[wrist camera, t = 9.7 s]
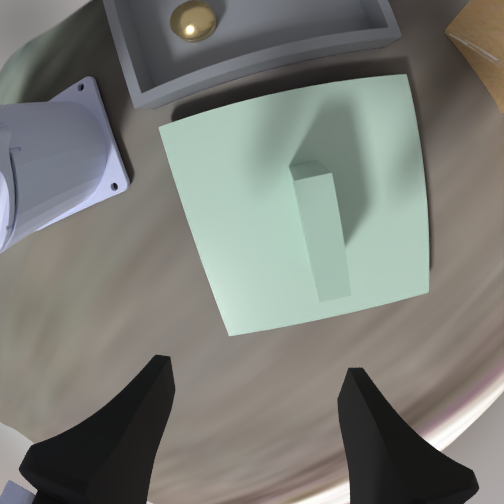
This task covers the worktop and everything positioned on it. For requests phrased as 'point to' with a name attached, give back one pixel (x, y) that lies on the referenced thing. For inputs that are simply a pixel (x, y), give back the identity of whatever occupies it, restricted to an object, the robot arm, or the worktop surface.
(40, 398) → the worktop surface
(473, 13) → the sandwich container
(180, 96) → the tub
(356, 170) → the lid
